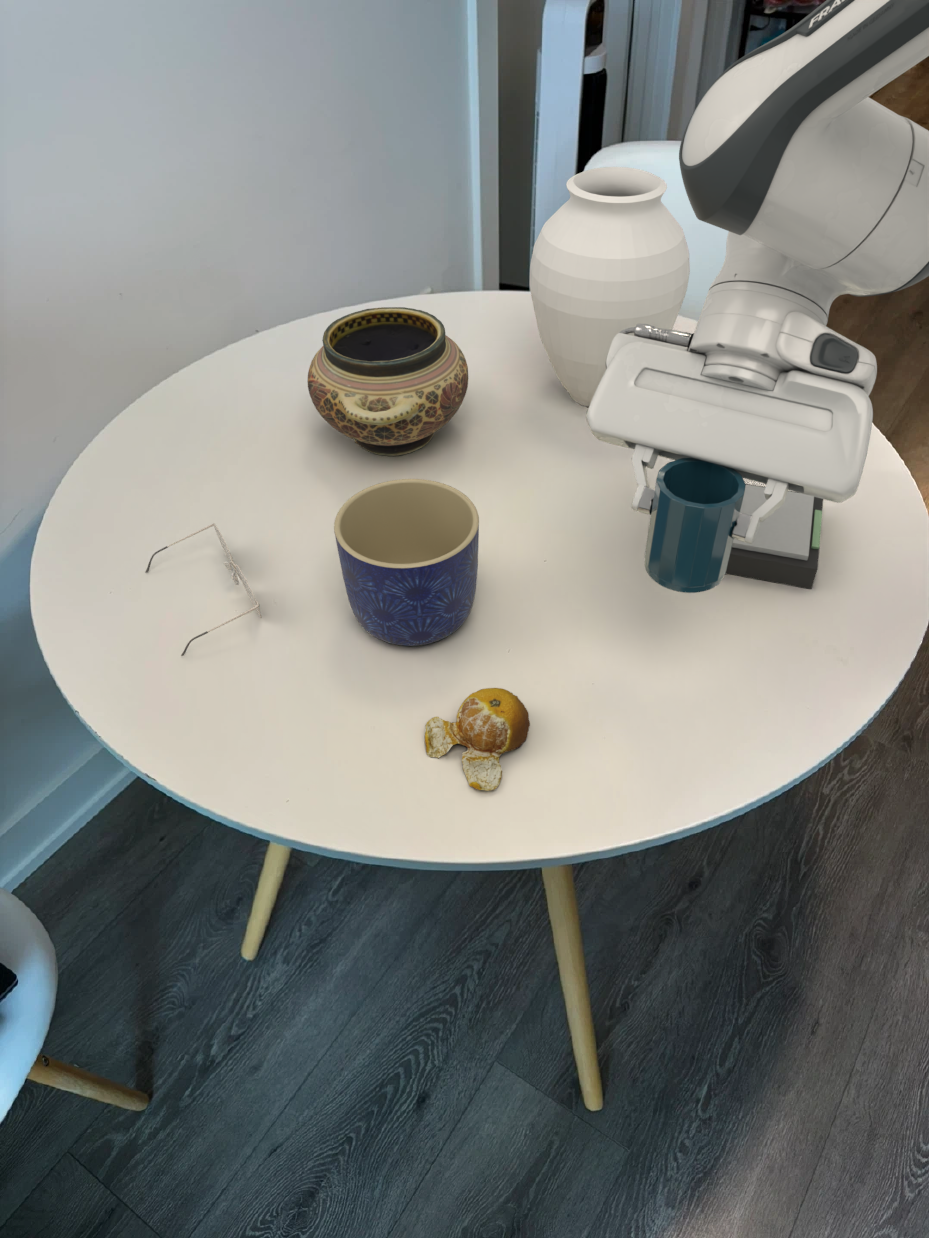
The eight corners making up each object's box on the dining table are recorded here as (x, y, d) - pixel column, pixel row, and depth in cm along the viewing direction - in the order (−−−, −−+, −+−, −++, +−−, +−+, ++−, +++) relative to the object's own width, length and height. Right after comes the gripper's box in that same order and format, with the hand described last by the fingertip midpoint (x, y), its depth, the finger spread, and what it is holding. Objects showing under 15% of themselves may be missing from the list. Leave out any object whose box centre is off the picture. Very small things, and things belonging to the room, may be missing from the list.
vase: (606, 345, 123) (624, 144, 106) (701, 401, 113) (739, 186, 95) (498, 385, 116) (498, 176, 99) (588, 448, 105) (607, 226, 88)
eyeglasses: (268, 628, 85) (257, 597, 82) (184, 664, 83) (170, 633, 80) (222, 545, 94) (211, 515, 91) (146, 575, 92) (132, 545, 89)
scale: (817, 515, 96) (824, 491, 94) (811, 589, 87) (819, 564, 85) (681, 493, 99) (685, 469, 97) (663, 562, 91) (667, 537, 89)
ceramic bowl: (358, 400, 120) (315, 291, 110) (490, 371, 115) (457, 256, 106) (321, 515, 102) (265, 398, 92) (475, 487, 98) (433, 361, 88)
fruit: (411, 741, 75) (408, 711, 73) (482, 686, 79) (482, 657, 77) (485, 800, 71) (484, 771, 68) (556, 739, 75) (558, 709, 72)
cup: (729, 549, 73) (749, 464, 68) (720, 600, 69) (740, 514, 63) (651, 535, 75) (664, 451, 69) (637, 584, 70) (650, 499, 65)
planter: (323, 604, 87) (307, 511, 80) (431, 553, 92) (426, 462, 85) (393, 681, 80) (383, 587, 72) (506, 622, 85) (508, 528, 78)
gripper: (611, 302, 68) (551, 480, 69) (901, 362, 61) (831, 559, 62) (626, 333, 74) (571, 497, 75) (892, 391, 67) (829, 571, 68)
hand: (691, 526), depth 68 cm, fingers closed on cup, 6 cm apart
